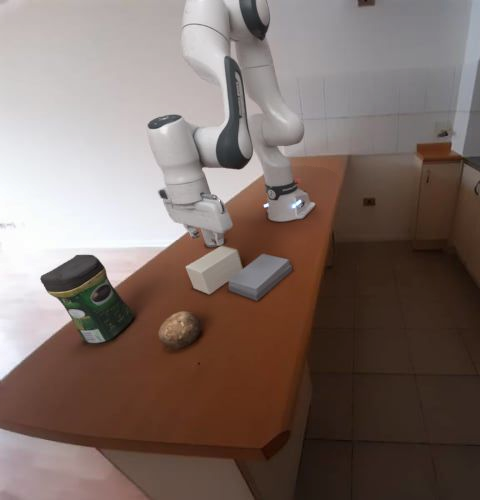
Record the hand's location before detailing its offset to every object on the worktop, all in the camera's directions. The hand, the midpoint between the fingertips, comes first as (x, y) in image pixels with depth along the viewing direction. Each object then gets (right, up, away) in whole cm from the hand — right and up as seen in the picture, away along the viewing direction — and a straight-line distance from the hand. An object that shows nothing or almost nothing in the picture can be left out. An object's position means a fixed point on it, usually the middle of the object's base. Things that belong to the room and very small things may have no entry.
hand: (207, 240), depth 74 cm
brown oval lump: (+1, -22, -13) cm, 26 cm away
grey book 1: (+13, -9, +3) cm, 17 cm away
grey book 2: (+14, -11, +4) cm, 18 cm away
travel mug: (-9, 0, +26) cm, 27 cm away
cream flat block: (0, -7, +3) cm, 8 cm away
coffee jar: (-19, -21, -9) cm, 29 cm away
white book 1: (0, -9, +5) cm, 10 cm away
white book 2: (+1, -11, +6) cm, 12 cm away
